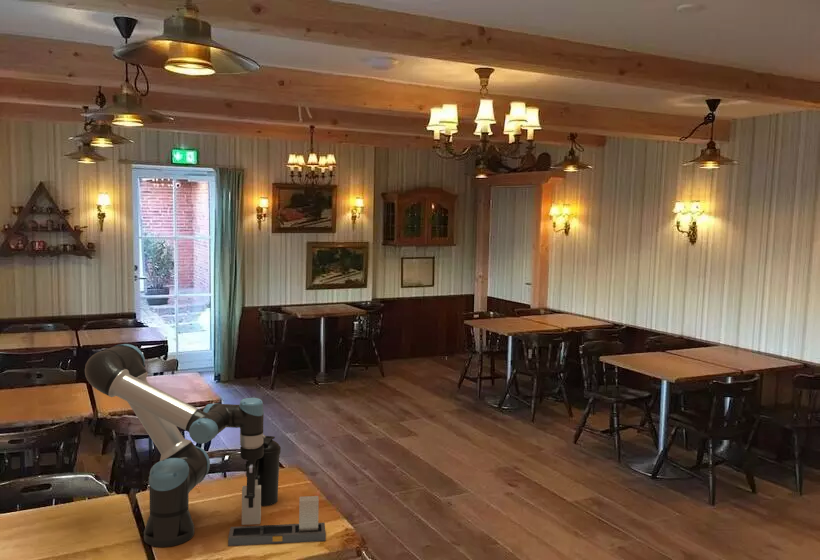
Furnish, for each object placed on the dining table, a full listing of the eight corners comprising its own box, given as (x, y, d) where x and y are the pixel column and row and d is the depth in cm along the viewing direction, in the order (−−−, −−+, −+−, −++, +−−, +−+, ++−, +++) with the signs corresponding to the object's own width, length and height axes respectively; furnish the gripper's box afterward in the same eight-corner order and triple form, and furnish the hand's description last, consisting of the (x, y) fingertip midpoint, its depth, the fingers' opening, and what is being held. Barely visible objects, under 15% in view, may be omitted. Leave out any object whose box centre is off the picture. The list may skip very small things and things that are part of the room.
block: (241, 524, 221) (241, 490, 220) (242, 520, 225) (242, 485, 224) (260, 524, 222) (260, 489, 221) (260, 519, 226) (261, 485, 225)
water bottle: (283, 496, 245) (284, 435, 242) (275, 508, 234) (275, 444, 232) (256, 494, 246) (257, 433, 243) (247, 506, 235) (247, 442, 233)
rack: (228, 546, 207) (228, 507, 206) (230, 534, 214) (230, 496, 213) (325, 541, 212) (326, 503, 211) (324, 530, 220) (325, 493, 218)
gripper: (261, 458, 209) (262, 523, 211) (265, 432, 234) (265, 491, 236) (237, 459, 208) (237, 524, 210) (243, 433, 233) (243, 492, 235)
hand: (252, 507), depth 223 cm, fingers open, 13 cm apart
